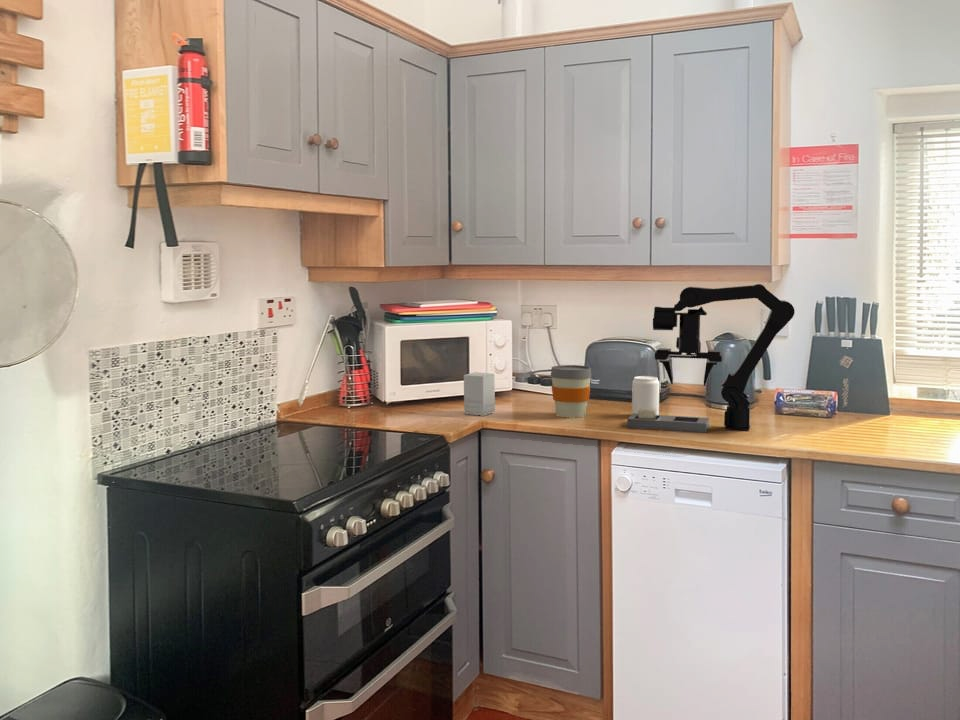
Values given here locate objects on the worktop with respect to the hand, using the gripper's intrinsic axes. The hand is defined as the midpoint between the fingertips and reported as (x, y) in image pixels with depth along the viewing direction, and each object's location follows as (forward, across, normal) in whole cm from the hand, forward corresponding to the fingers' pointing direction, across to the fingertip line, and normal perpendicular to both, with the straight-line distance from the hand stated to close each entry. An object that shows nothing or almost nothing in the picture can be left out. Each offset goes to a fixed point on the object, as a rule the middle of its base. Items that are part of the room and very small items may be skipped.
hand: (688, 384), depth 243 cm
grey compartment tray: (+12, +5, +4) cm, 13 cm away
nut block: (+12, +11, +4) cm, 17 cm away
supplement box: (+12, +64, +1) cm, 65 cm away
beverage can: (+12, +14, -11) cm, 22 cm away
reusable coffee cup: (+12, +36, -5) cm, 38 cm away
